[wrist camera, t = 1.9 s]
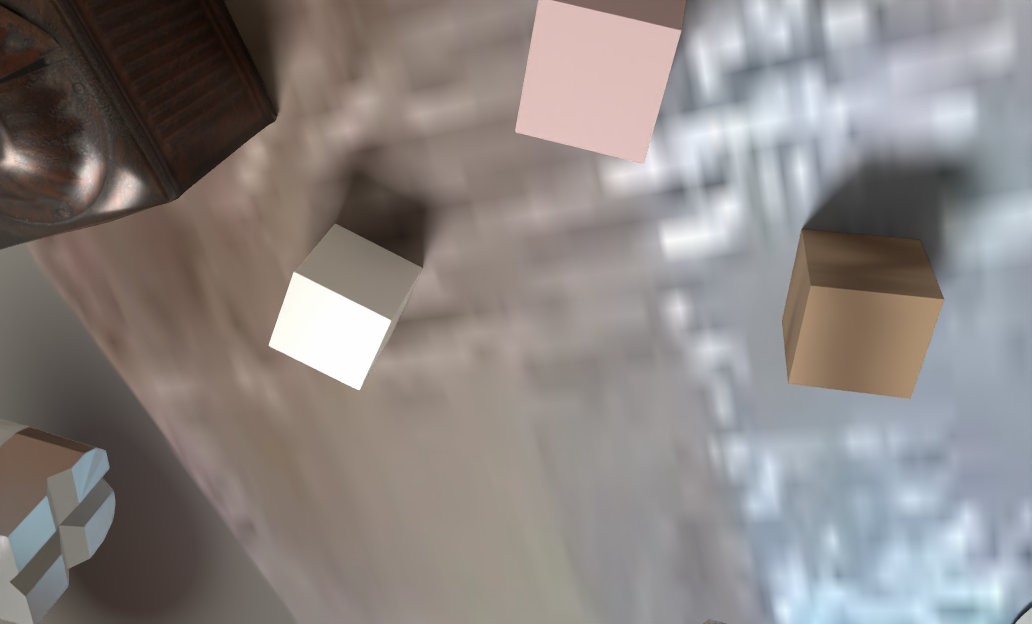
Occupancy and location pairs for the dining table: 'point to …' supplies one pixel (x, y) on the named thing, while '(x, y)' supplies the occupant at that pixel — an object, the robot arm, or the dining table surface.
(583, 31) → the dusty-rose block
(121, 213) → the manual coffee grinder
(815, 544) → the dining table surface
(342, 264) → the off-white block
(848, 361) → the walnut block
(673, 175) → the dining table surface
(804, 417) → the dining table surface
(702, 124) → the dining table surface
